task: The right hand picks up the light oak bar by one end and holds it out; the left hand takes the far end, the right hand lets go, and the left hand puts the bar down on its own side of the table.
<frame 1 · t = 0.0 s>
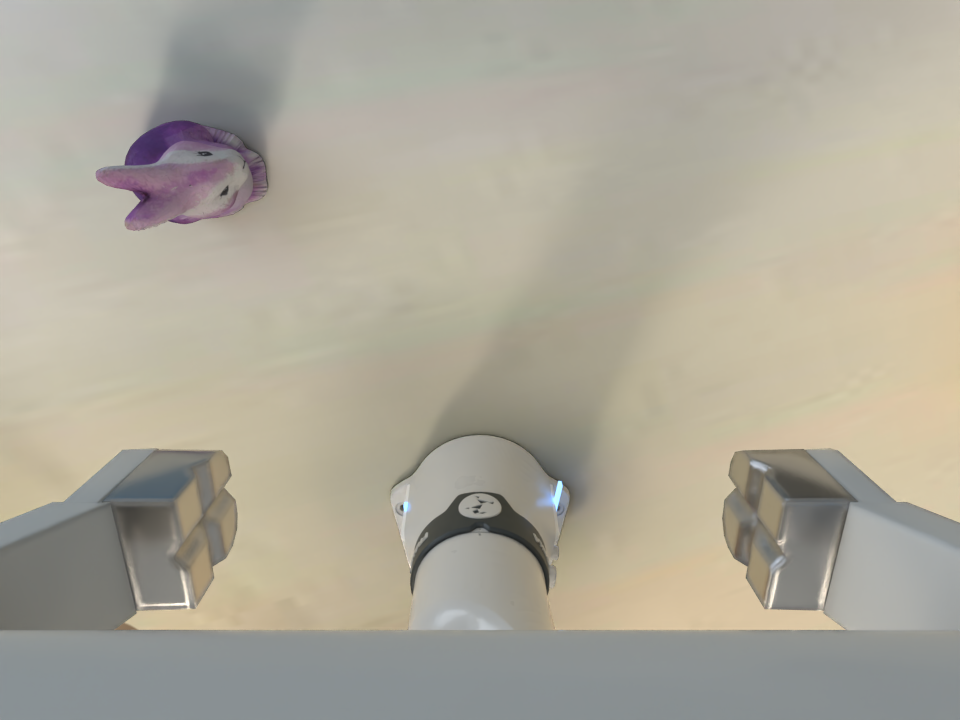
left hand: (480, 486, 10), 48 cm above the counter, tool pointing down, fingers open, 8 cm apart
figurine: (217, 168, 54), on the counter
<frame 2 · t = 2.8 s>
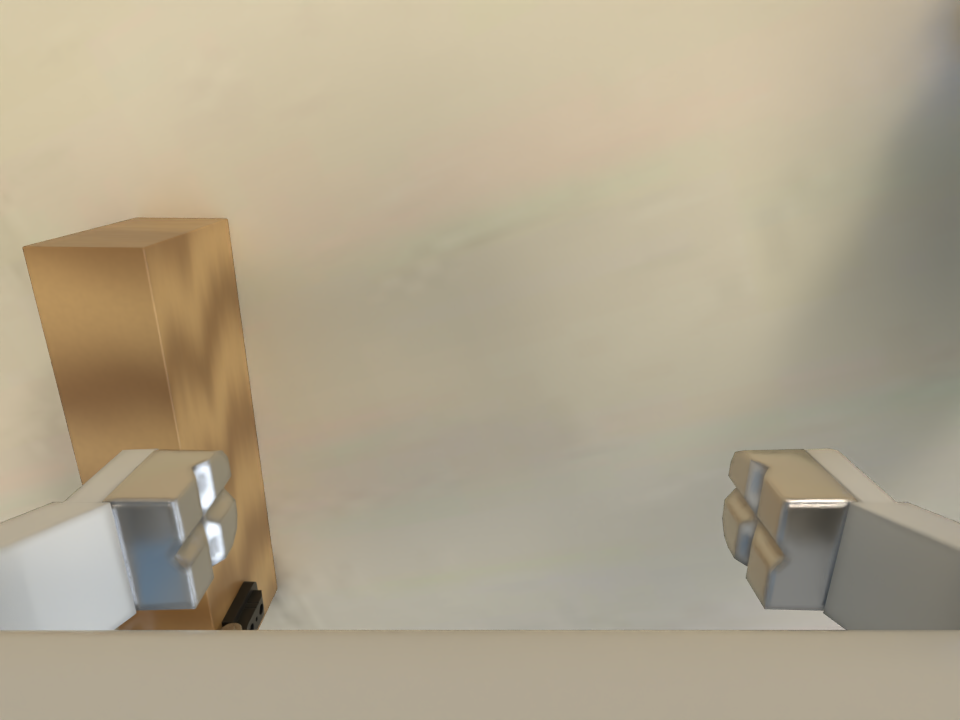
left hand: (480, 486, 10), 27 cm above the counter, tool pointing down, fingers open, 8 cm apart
bar: (214, 424, 40), on the counter, touching right hand
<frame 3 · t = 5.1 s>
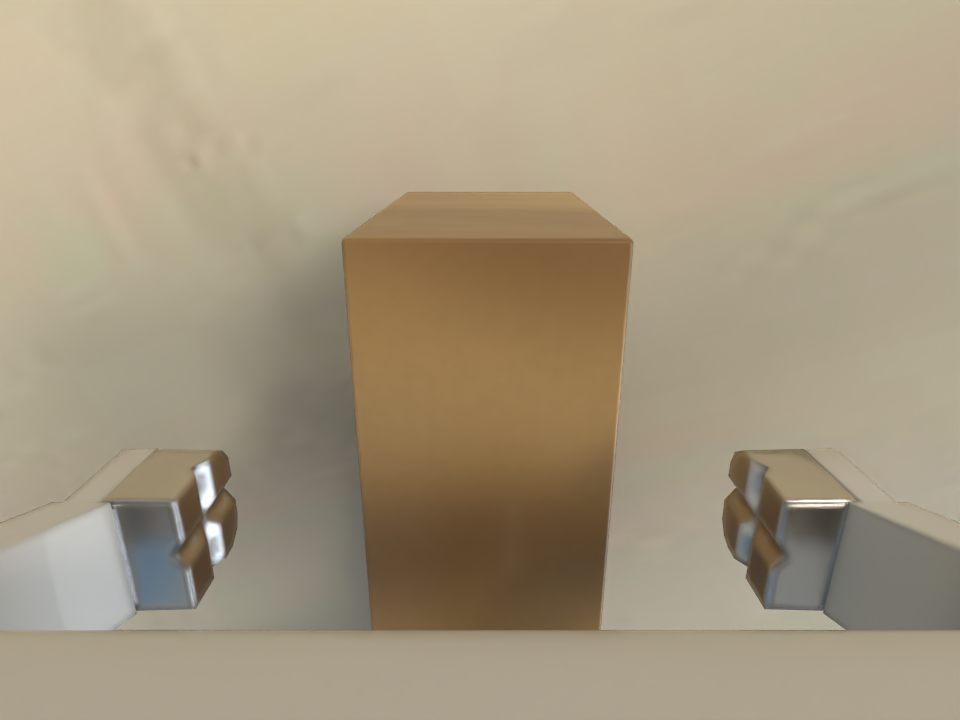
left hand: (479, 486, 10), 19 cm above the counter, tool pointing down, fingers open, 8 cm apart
bar: (488, 535, 24), point 7 cm above the counter, touching right hand
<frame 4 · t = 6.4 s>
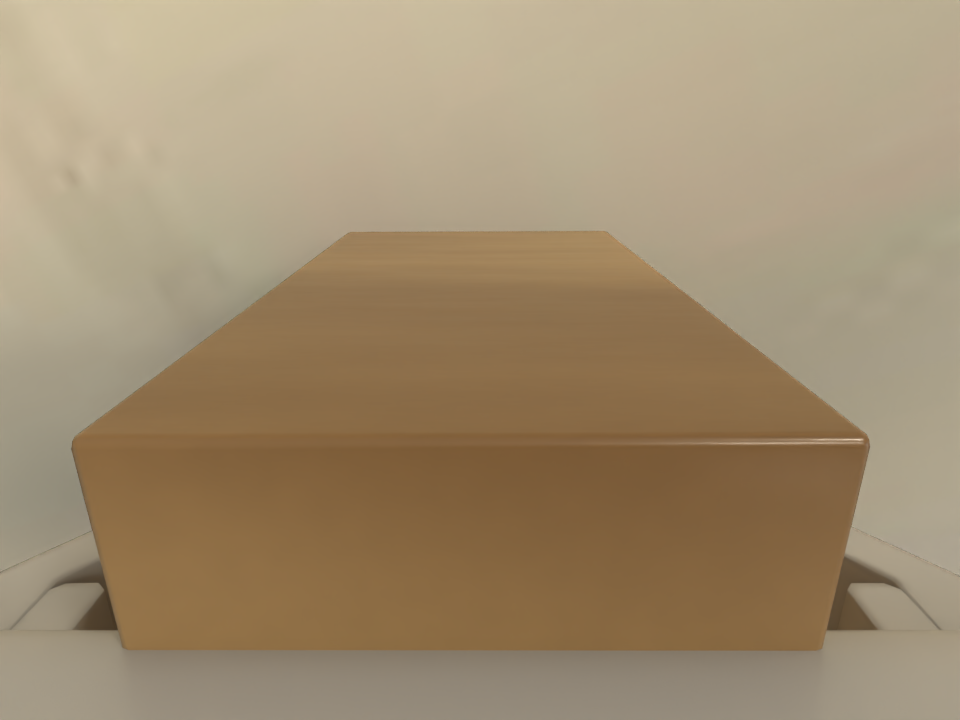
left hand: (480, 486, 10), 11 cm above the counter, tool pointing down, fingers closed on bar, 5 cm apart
bar: (479, 709, 17), point 7 cm above the counter, touching left hand, right hand
when the right hand's fingers open (12 cm above the counter, at t = 7.6 s): bar stays where it is, held by the left hand.
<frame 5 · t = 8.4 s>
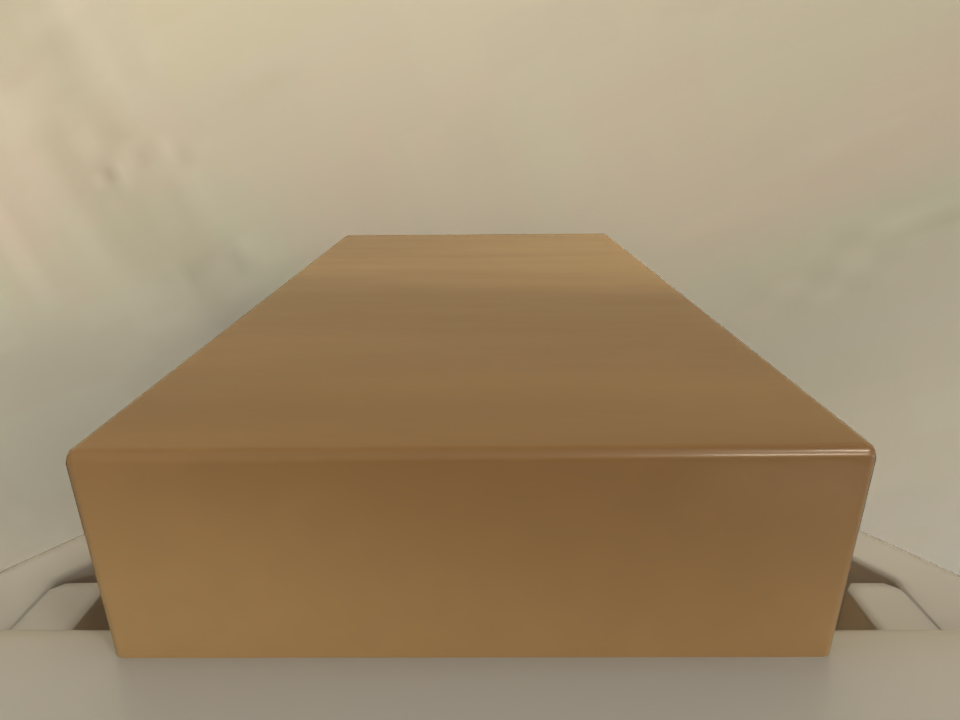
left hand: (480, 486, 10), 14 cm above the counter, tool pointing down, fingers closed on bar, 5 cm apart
bar: (480, 712, 17), point 10 cm above the counter, touching left hand
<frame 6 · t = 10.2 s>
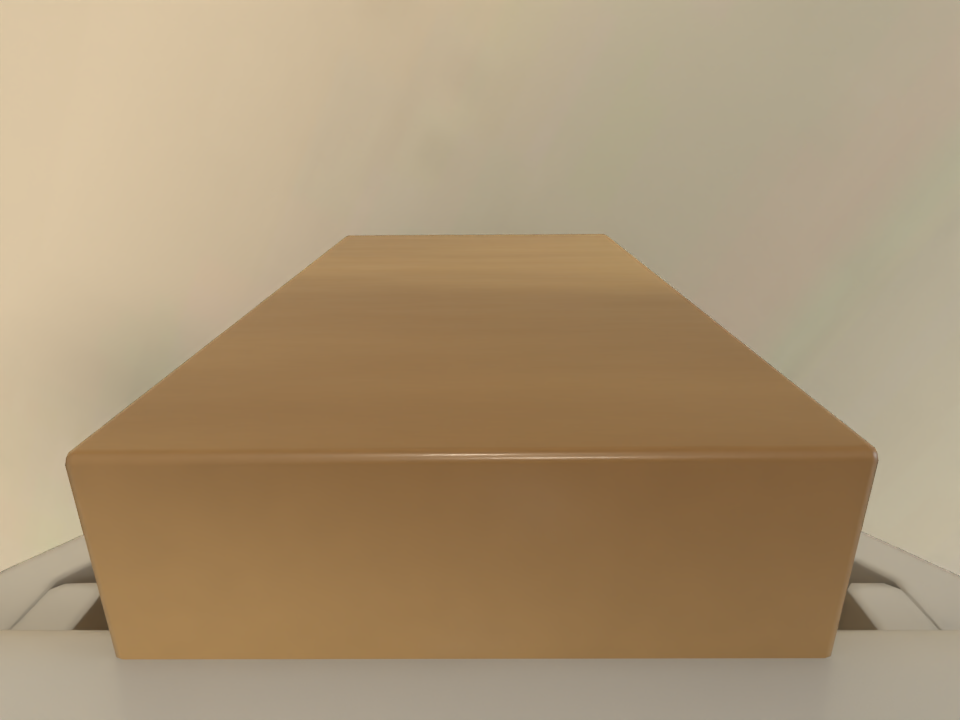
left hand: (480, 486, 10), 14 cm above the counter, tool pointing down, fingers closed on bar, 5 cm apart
bar: (479, 713, 17), point 10 cm above the counter, touching left hand
when the left hand's fingers open (5 cm above the counter, at t = 12.0 s): bar stays where it is, on the counter.
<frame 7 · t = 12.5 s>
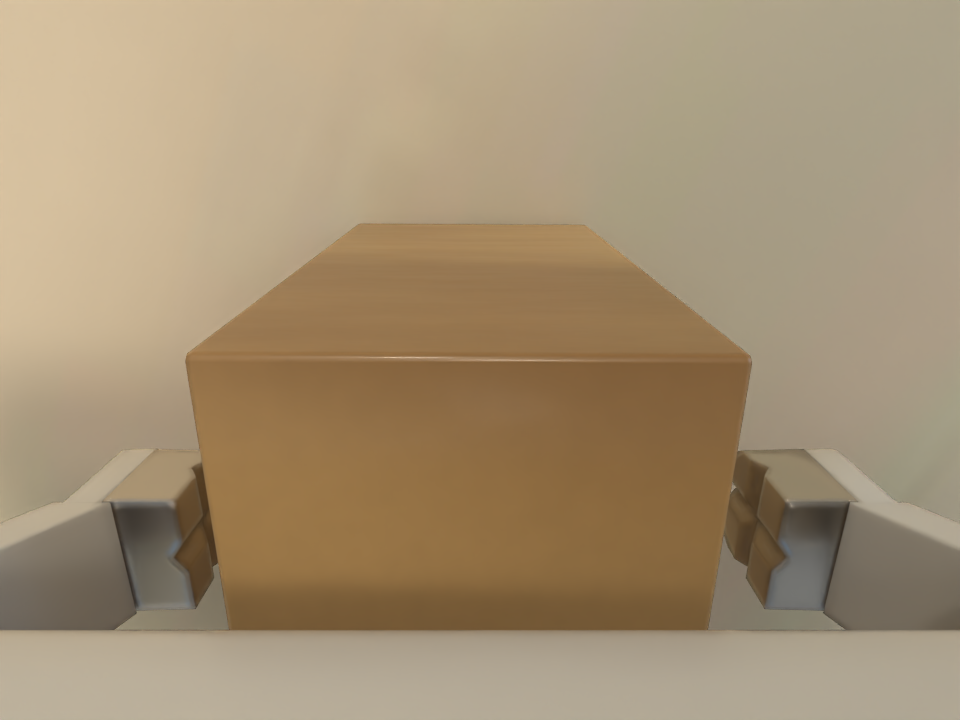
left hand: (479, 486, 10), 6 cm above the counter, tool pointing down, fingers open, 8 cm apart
bar: (471, 662, 19), on the counter
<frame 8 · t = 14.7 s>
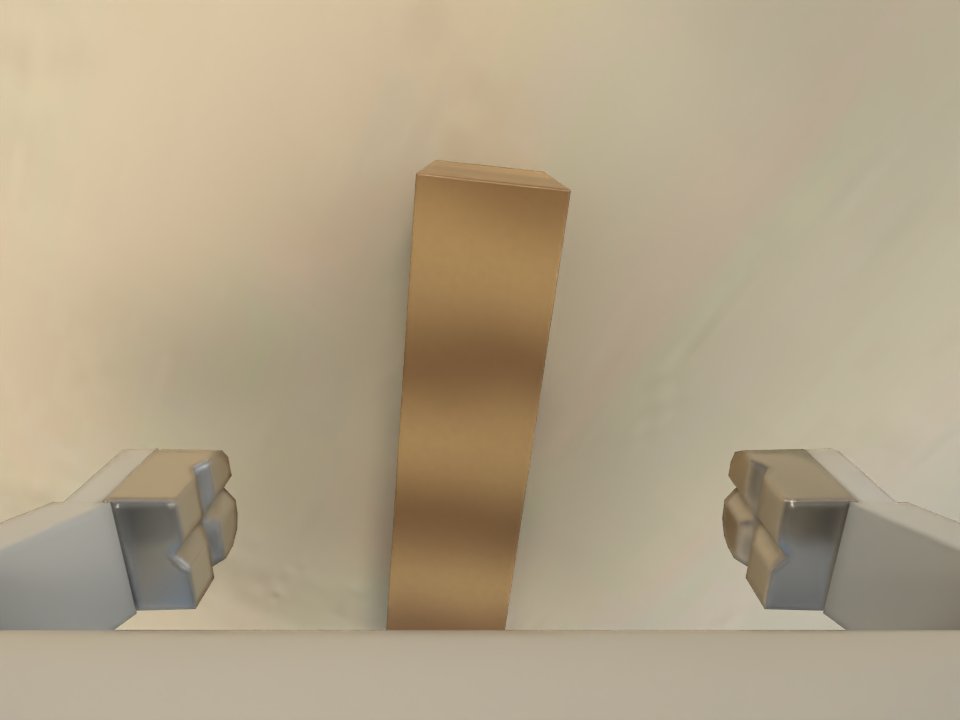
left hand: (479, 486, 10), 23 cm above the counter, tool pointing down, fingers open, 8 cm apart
bar: (464, 412, 34), on the counter
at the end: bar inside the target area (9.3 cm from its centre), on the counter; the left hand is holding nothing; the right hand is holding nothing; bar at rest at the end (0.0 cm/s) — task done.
